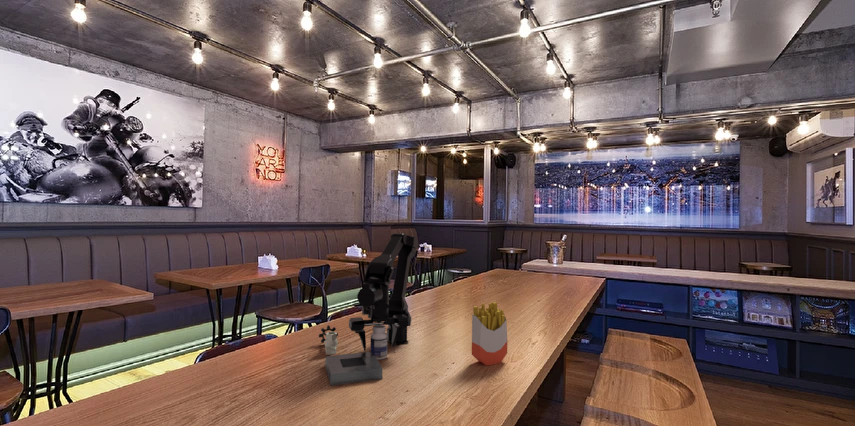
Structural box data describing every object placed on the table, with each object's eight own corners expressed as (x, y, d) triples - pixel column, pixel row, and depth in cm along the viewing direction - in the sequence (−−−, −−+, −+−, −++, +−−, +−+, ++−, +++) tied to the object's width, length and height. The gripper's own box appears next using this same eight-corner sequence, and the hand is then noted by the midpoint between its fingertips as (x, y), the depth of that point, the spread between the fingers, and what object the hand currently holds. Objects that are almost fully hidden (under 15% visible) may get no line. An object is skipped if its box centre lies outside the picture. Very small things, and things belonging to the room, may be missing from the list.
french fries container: (508, 361, 122) (508, 304, 122) (480, 367, 116) (481, 307, 116) (498, 356, 125) (499, 301, 126) (471, 362, 120) (472, 304, 120)
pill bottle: (370, 354, 126) (371, 324, 126) (387, 353, 127) (387, 324, 127) (369, 360, 121) (370, 328, 121) (386, 359, 121) (387, 328, 121)
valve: (341, 354, 126) (337, 343, 137) (342, 333, 126) (337, 324, 137) (321, 356, 124) (318, 344, 135) (321, 335, 124) (318, 325, 135)
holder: (371, 361, 120) (371, 351, 120) (382, 378, 107) (382, 368, 107) (325, 366, 115) (325, 356, 115) (330, 385, 102) (330, 374, 102)
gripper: (400, 294, 135) (399, 338, 135) (346, 297, 128) (345, 344, 128) (410, 300, 124) (409, 349, 124) (352, 304, 118) (351, 355, 118)
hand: (378, 349), depth 124 cm, fingers open, 9 cm apart
